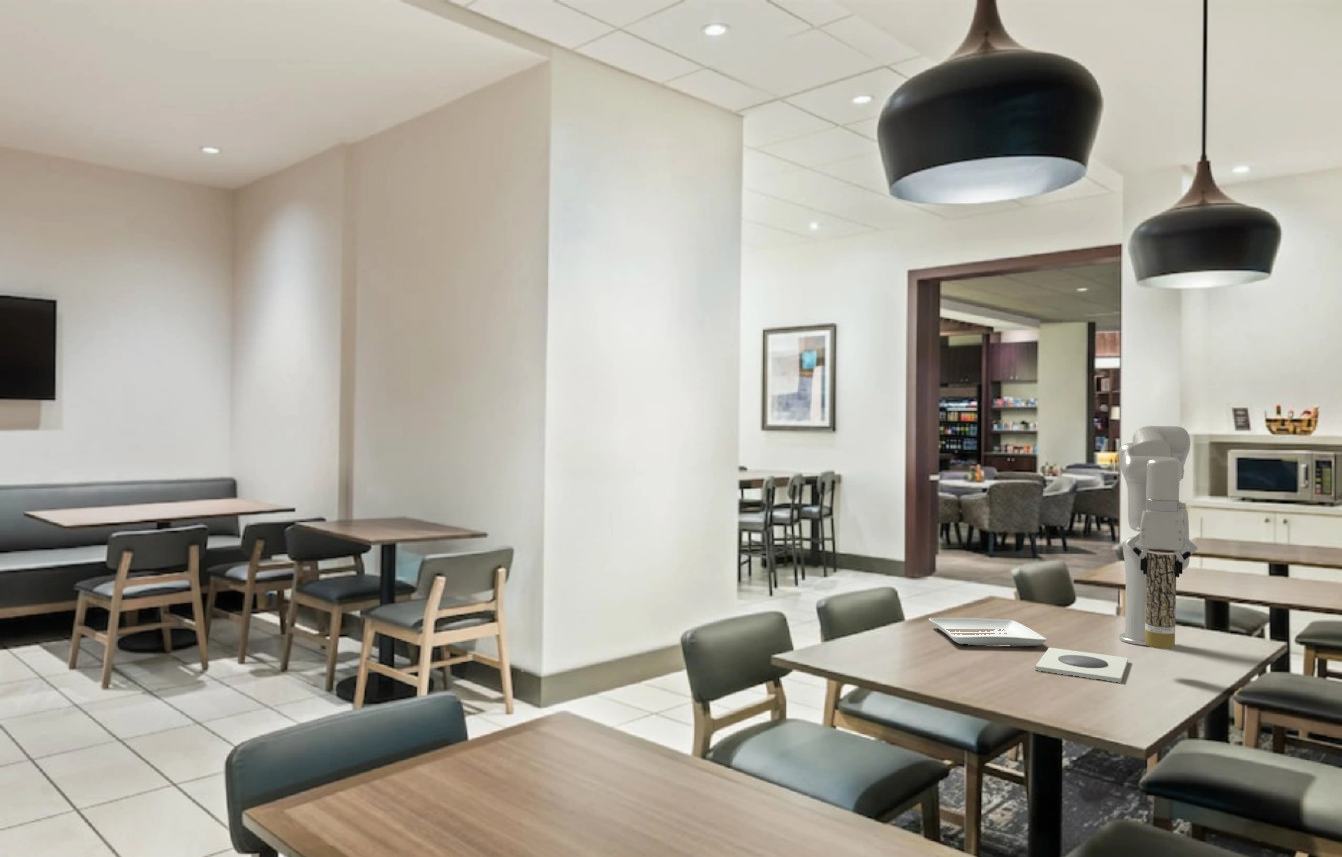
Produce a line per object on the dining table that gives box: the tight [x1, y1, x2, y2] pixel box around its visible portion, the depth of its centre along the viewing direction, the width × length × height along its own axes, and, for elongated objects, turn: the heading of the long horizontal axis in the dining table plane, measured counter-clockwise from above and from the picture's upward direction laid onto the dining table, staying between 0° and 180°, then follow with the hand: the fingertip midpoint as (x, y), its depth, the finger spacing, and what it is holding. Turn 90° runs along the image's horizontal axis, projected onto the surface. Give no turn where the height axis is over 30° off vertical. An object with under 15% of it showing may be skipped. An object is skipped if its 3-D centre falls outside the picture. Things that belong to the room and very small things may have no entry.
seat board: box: [1034, 647, 1129, 684], centre depth 236 cm, size 24×20×2 cm
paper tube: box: [1145, 550, 1177, 650], centre depth 229 cm, size 7×7×25 cm
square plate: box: [928, 617, 1048, 647], centre depth 267 cm, size 27×27×4 cm
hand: (1161, 574), depth 228 cm, fingers closed on paper tube, 6 cm apart
